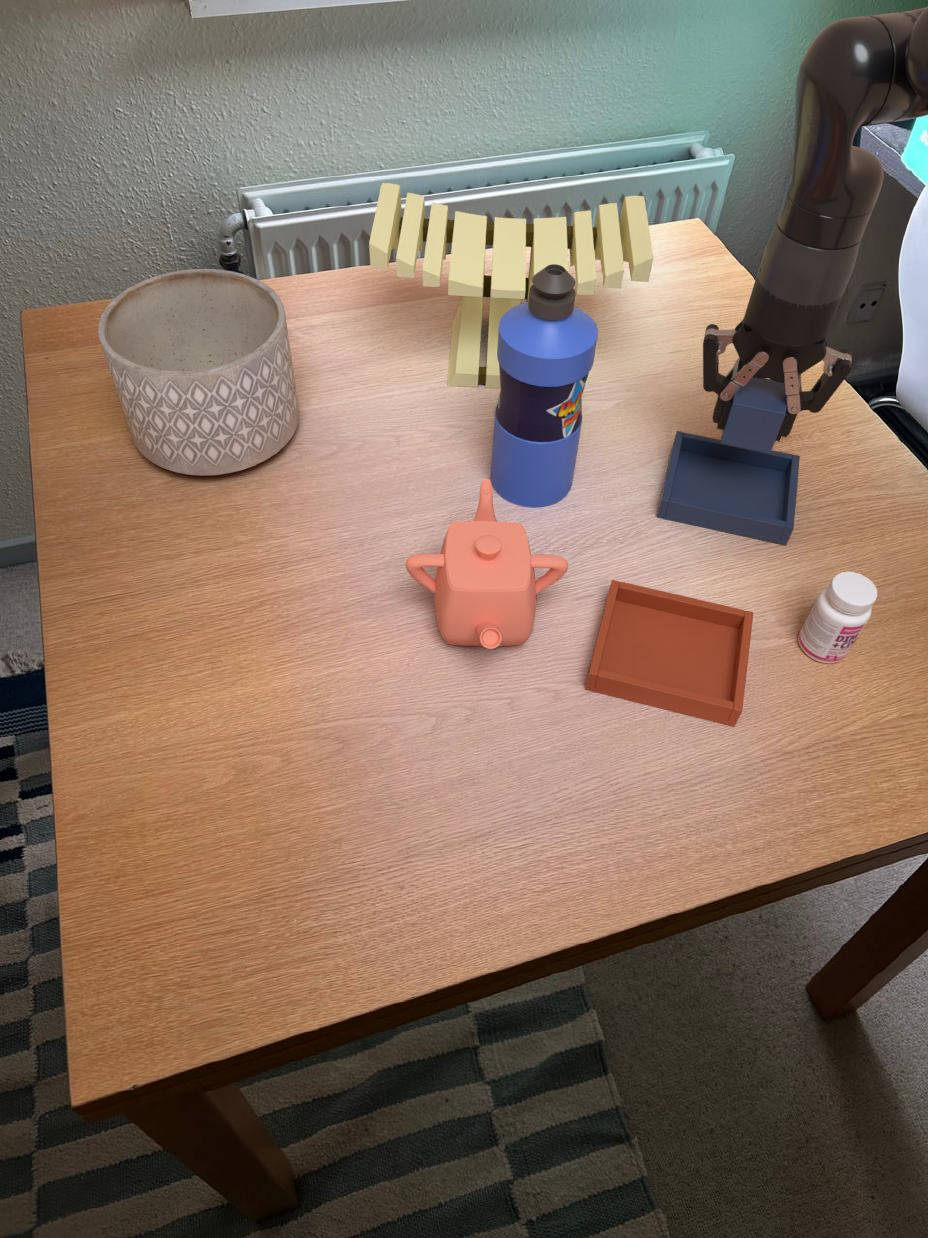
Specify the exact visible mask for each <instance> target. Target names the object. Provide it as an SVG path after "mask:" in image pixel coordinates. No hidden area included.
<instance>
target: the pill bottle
mask: <svg viewBox="0 0 928 1238" xmlns="http://www.w3.org/2000/svg"><path fill="white" fill-rule="evenodd" d="M877 598H878V589H877V587H876V584H875V583H874V582H873V581H872V580H871V579H870V578H868V577H867V576H865V575H863V574H861V573H858V572H856V571H855V572H854V571H842V572H839V573H837V574H836V575H835V576H834V577H833V578H832V579H831V582H830V583H829V585H828V586H826V587H825V588H823V589H822V590H821V592H820V593H819V595H818V596H817V598H816V600H815V603H814V604H813V605H812V608H811V609H810V612H809V614H808V616H807V617H806V620H805V621H804V623H803V624H802V627H801V628H800V630H799V633H798V636H797V640H798V641H797V642H798V644H799V647H800V648H801V650H802V651H803V652H804V654H806V656H808V657H809V658H810V659H812V660H814V661H815V662H819V663H822V664H835V663H838V662H841V661H843V660H844V659H845V658H846V657H847V656H848V654H849V652H850V651H851V649H852V648H853V646H854V644H855V643H856V641H857V640H858V638H859V636H860V635H861V633H862V632H863V630H864V628H865V626H866V625H867V623H868V622H869V620H870V618H871V616H872V607H873V605H874V604H875V602H876V600H877Z"/></svg>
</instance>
